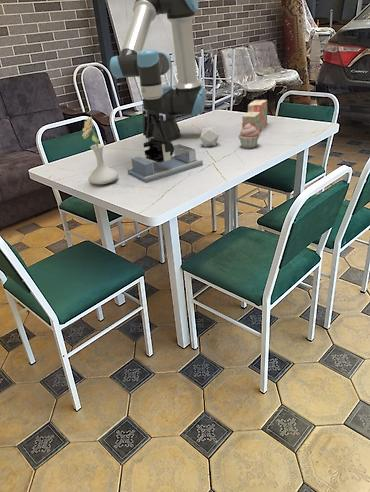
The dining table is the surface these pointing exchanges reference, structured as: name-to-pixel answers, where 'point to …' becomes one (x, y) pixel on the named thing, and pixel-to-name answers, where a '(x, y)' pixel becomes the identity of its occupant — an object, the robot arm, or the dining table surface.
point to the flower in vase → (98, 159)
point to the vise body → (159, 168)
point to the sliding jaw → (184, 153)
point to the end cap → (156, 150)
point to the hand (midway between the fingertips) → (159, 157)
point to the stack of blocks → (256, 115)
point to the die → (209, 136)
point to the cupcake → (249, 136)
